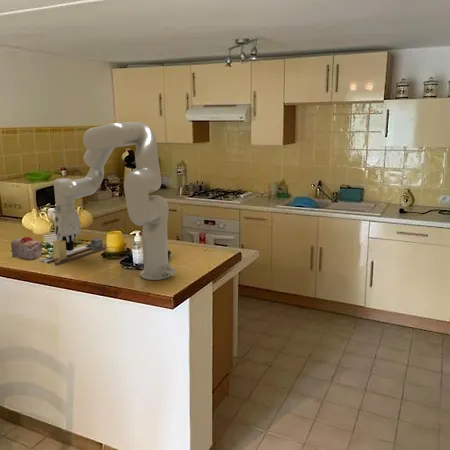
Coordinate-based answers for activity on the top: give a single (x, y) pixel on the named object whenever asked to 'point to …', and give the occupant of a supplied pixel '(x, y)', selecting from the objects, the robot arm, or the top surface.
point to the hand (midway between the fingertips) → (69, 250)
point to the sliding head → (59, 250)
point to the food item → (26, 248)
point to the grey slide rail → (79, 251)
